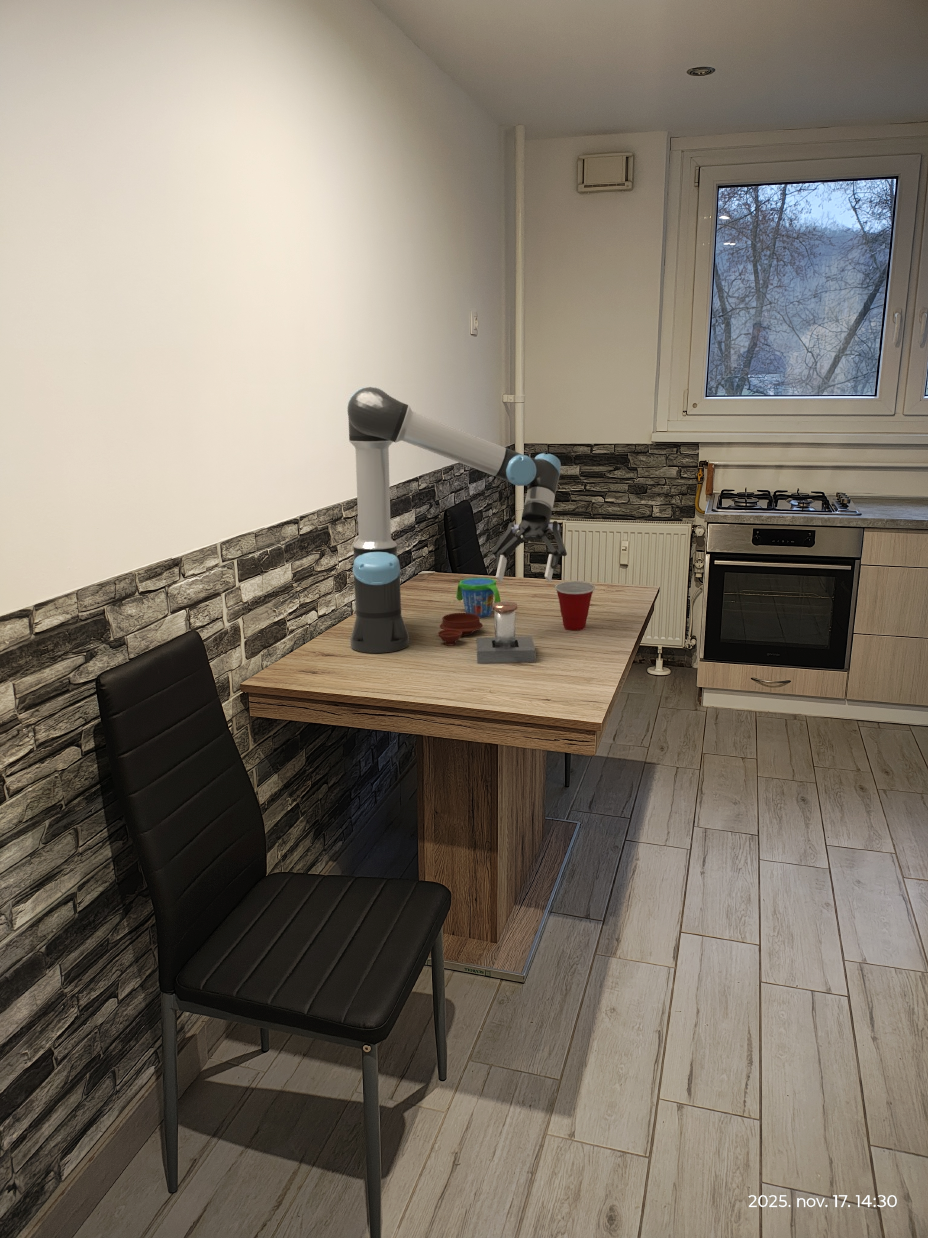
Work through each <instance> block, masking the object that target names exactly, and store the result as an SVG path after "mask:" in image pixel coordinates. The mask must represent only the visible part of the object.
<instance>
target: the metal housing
mask: <svg viewBox="0 0 928 1238" xmlns="http://www.w3.org/2000/svg"><path fill="white" fill-rule="evenodd" d="M475 639H476V663H477V664H502V663H503V664H504V663H505V664H506V663H508V664H509V663H518V664H519V663H536V647H535V643H534V640H533V636H515V647H504V648H495V636H493V637H491V636H490V637H485V636H484V637H476V638H475Z"/></svg>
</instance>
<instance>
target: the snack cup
mask: <svg viewBox="0 0 928 1238" xmlns="http://www.w3.org/2000/svg"><path fill="white" fill-rule="evenodd" d="M499 592H500V591H499V589H498V587H497V581H496V580H495V579H493V578H489V577H471V578H465V579H463V580H460V581H459V583H458V586H457V588H456V599H457V601H463V607H464V613H472V614H476V615H478V616H480V618H486V617H489V616H490V615H492V612H493V603H496V602H502V600H501V596H500V593H499Z"/></svg>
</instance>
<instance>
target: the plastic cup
mask: <svg viewBox="0 0 928 1238" xmlns="http://www.w3.org/2000/svg"><path fill="white" fill-rule="evenodd" d="M554 589H555V591H556V594H557V598H558V603H559V609H560V615H561V618H562V626H563V628H564V630H567V631H582V630H584V629H585V627H586V624H587V620H588V615H589V611H590V605H591V600H592V599H591V598H592V596H593V592H594V590H596V586H595V585H594V584H592V583H590V582H587V581H583V580H582V581H581V580H569V581H568V580H567V581H563V582H559V583H557V584H556V585H555V586H554Z"/></svg>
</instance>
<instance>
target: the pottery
mask: <svg viewBox="0 0 928 1238" xmlns="http://www.w3.org/2000/svg"><path fill="white" fill-rule="evenodd" d="M441 619H442V623H441V624H439V628H440V629H441V631H438V632H437V636H438V637H439V638H440V639H441V641H443V642H444V645H446V646H454V645H456V644H457V642H458V640H459V639H460V638H461V637H462V636H468V635H469V636H470V635H471V634H473V632H474V631H477V630H480V629H482V628H483V627H484V624H483V623H482V622H481V617H480V616H478V615H476V614H472V613H465V612H455V613H454V612H453V613H449V614H445V615H443V616H442V618H441Z"/></svg>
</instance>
